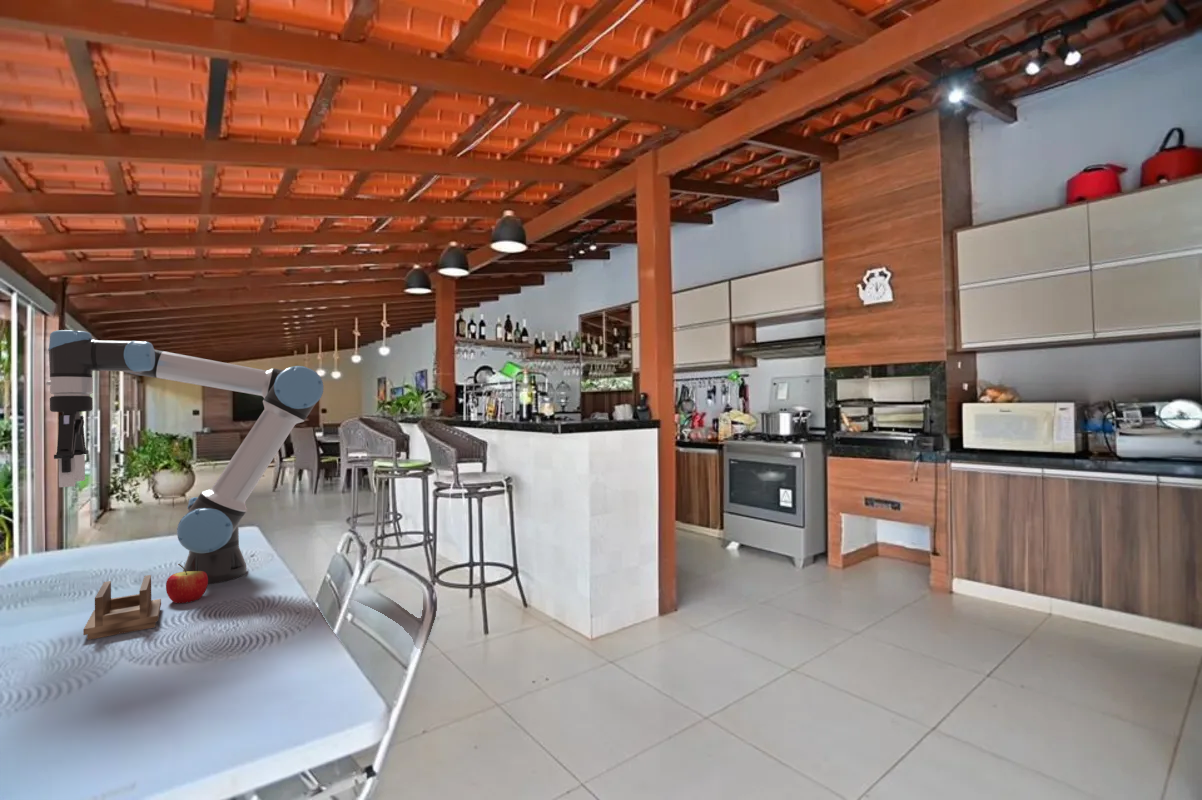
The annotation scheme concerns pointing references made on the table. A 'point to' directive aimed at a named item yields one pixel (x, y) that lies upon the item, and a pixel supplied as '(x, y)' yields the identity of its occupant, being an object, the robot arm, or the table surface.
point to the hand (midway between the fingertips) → (72, 484)
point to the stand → (122, 612)
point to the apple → (186, 586)
